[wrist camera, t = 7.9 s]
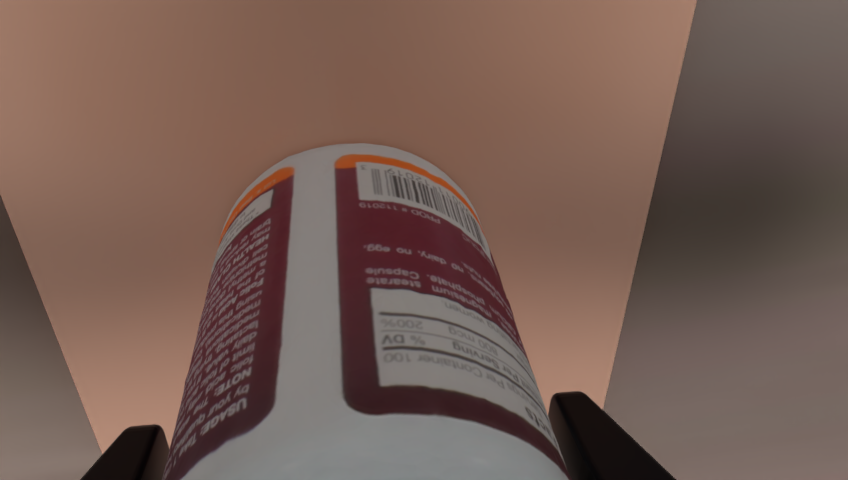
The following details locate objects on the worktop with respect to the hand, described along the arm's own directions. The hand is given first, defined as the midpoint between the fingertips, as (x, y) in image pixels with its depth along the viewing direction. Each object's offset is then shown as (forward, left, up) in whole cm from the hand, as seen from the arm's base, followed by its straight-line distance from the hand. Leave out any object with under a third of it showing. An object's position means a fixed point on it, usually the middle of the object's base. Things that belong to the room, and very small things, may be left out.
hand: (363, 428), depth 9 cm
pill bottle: (0, 0, -4) cm, 4 cm away
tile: (0, 0, -4) cm, 4 cm away
